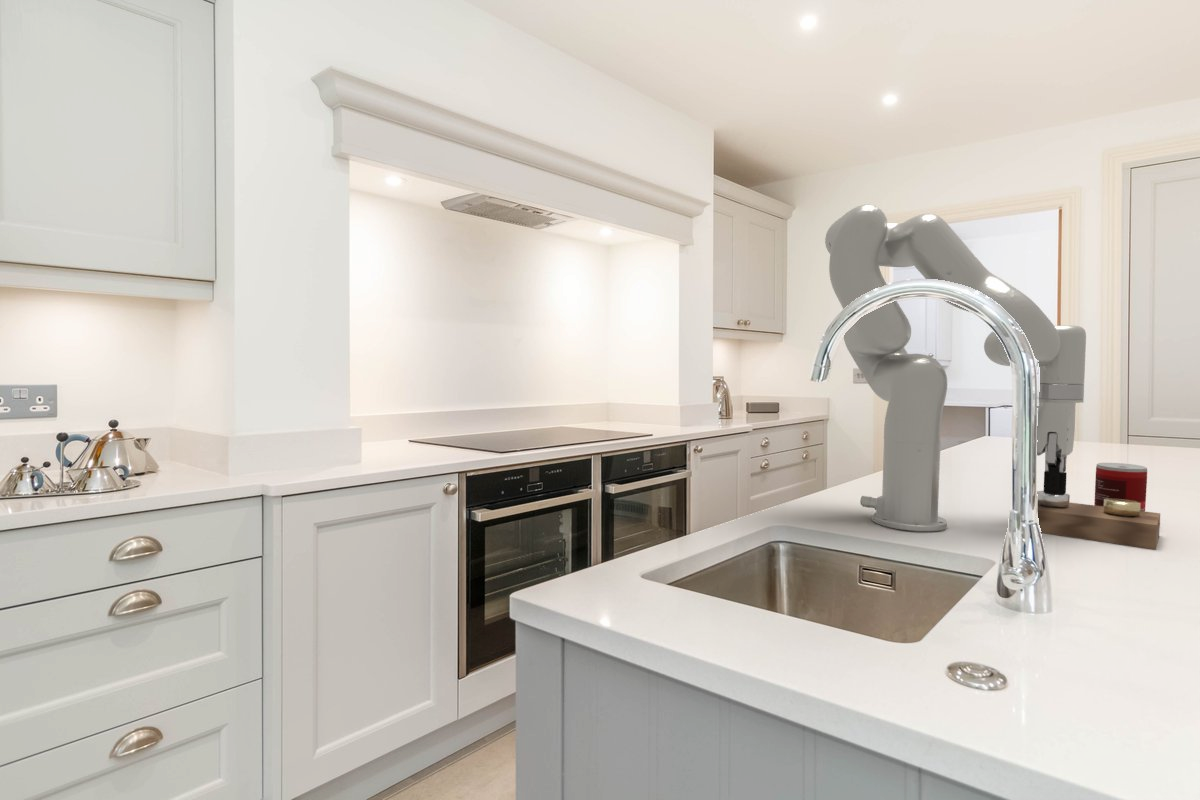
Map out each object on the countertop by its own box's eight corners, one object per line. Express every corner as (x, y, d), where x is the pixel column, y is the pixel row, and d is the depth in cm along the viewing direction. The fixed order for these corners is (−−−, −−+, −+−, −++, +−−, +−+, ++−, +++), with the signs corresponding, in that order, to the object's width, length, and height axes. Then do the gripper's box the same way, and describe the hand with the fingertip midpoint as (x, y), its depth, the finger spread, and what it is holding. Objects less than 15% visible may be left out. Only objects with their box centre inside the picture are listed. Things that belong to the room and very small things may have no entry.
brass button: (1100, 535, 116) (1102, 501, 115) (1103, 530, 119) (1105, 497, 119) (1137, 540, 112) (1139, 505, 112) (1139, 535, 116) (1141, 501, 116)
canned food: (1141, 521, 128) (1144, 464, 127) (1147, 530, 121) (1150, 470, 121) (1091, 516, 132) (1094, 461, 132) (1095, 524, 125) (1098, 466, 125)
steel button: (1033, 525, 122) (1034, 493, 122) (1037, 521, 126) (1039, 489, 126) (1065, 530, 119) (1067, 497, 119) (1070, 525, 123) (1071, 493, 122)
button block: (1013, 528, 122) (1014, 506, 121) (1026, 517, 130) (1026, 497, 130) (1155, 549, 108) (1156, 525, 108) (1159, 535, 117) (1160, 513, 117)
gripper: (1041, 392, 129) (1037, 485, 130) (1026, 394, 118) (1022, 496, 119) (1088, 393, 124) (1084, 490, 125) (1077, 395, 113) (1073, 502, 114)
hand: (1054, 493), depth 122 cm, fingers closed
